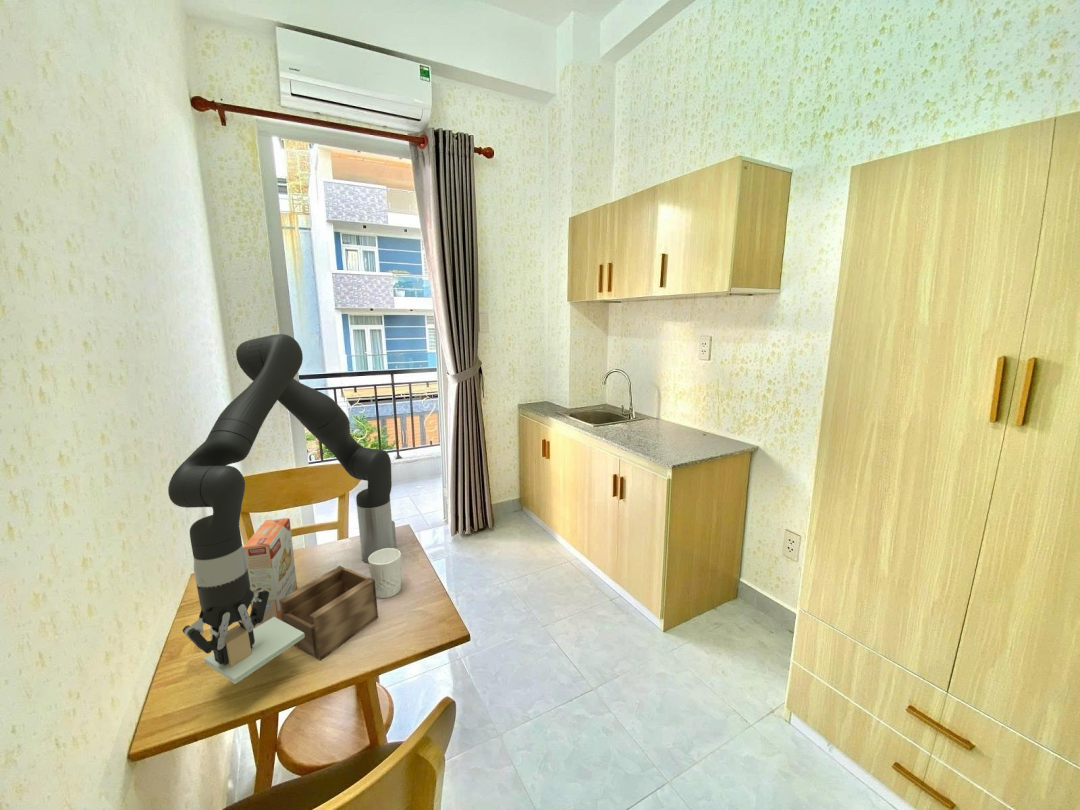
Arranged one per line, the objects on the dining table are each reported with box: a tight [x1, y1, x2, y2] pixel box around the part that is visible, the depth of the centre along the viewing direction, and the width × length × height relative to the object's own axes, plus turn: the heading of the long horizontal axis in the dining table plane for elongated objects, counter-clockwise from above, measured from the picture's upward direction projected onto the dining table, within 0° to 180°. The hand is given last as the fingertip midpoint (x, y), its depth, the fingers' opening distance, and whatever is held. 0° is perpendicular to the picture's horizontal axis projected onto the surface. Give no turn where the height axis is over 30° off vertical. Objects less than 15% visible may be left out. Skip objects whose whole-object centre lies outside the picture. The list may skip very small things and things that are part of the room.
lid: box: [203, 617, 305, 685], centre depth 84 cm, size 13×10×6 cm
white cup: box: [368, 548, 402, 599], centre depth 112 cm, size 8×8×10 cm
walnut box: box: [279, 565, 379, 661], centre depth 98 cm, size 15×12×10 cm
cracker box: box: [243, 517, 298, 628], centre depth 104 cm, size 14×6×21 cm, turn 14°
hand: (236, 655), depth 81 cm, fingers closed on lid, 3 cm apart
